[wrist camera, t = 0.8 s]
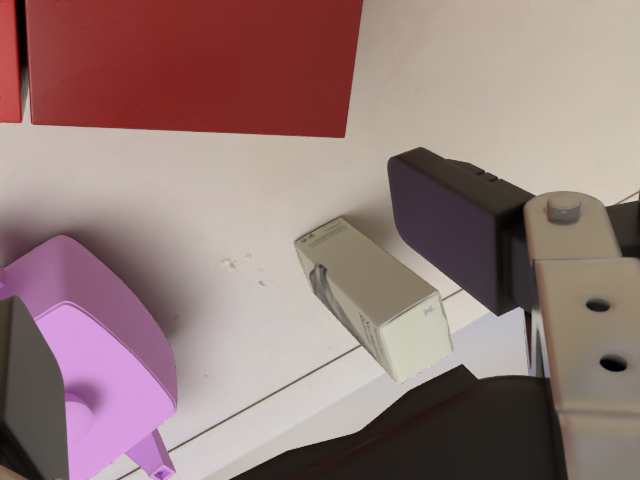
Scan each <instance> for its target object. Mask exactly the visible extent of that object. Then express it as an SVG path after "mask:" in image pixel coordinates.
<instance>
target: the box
mask: <svg viewBox="0 0 640 480" xmlns="http://www.w3.org/2000/svg"><path fill="white" fill-rule="evenodd" d="M294 245H295V248H296V251H297V254H298V257H299V260H300V263H301V265H302V268H303V270H304V273H305V276H306V278H307V280H308V282H309V285H310V287H311V289H312V291H313V293H314V294H315V295H316V296H317V297H318V298H319V299H320V301H321V302H322V303H323V304H324V305H325V306H326V307H327V308H328V309H329V310H330V311H331V312H332V314H333V315H334V316H335V317H336V318H337V319H338V320H339V321H340V322H341V323H342V325H343V326H344V327H345V328H346V329H347V330H348V331H349V332H350V333H351V334H352V335H353V336H354V337H355V338H356V339H357V341H358V342H359V343H360V344H361V345H362V346H363V347H364V348H365V349H366V350H367V351H368V352H369V353H370V354H371V355H372V356H373V358H374V359H375V360H376V361H377V362H378V363H379V364H380V365H381V366H382V367H383V368H384V370H385V371H386V372H387V373H388V374H389V375H390V376H391V377H392V379H393V380H394V381H395V382H396V383H397V384H398V385H400V384H402V383H403V382H405V381H407V380H408V379H410V378H412V377H413V376H415V375H417V374H419V373H420V372H421V371H423V370H425V369H427V368H428V367H430V366H432V365H433V364H435V363H436V362H438V361H440V360H441V359H443V358H444V357H446V356H448V355H449V354H451V353H452V352H453V344H452V339H451V335H450V330H449V326H448V322H447V318H446V314H445V311H444V307H443V303H442V300H441V296H440V292H439V291H438V290H437V289H435V288H434V287H433V286H432V285H430V284H429V283H428V282H426V281H425V280H424V279H422V278H421V277H420V276H418V275H417V274H416V273H414V272H413V271H412V270H410V269H409V268H408V267H406V266H405V265H404V264H402V263H401V262H400V261H398V260H397V259H396V258H394V257H393V256H392V255H390V254H389V253H388V252H386V251H385V250H384V249H382V248H381V247H380V246H378V245H377V244H376V243H374V242H373V241H372V240H370V239H369V238H368V237H366V236H365V235H364V234H362V233H361V232H360V231H358V230H357V229H356V228H354V227H353V226H352V225H350V224H349V223H348V222H346V221H345V220H344V219H343V218H338V219H336V220H334V221H332V222H330V223H328V224H327V225H325V226H323V227H321V228H319V229H317V230H315V231H314V232H312V233H310V234H308V235H306V236H305V237H303V238H301V239H299V240H298V241H296V242H295V243H294Z"/></svg>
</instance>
